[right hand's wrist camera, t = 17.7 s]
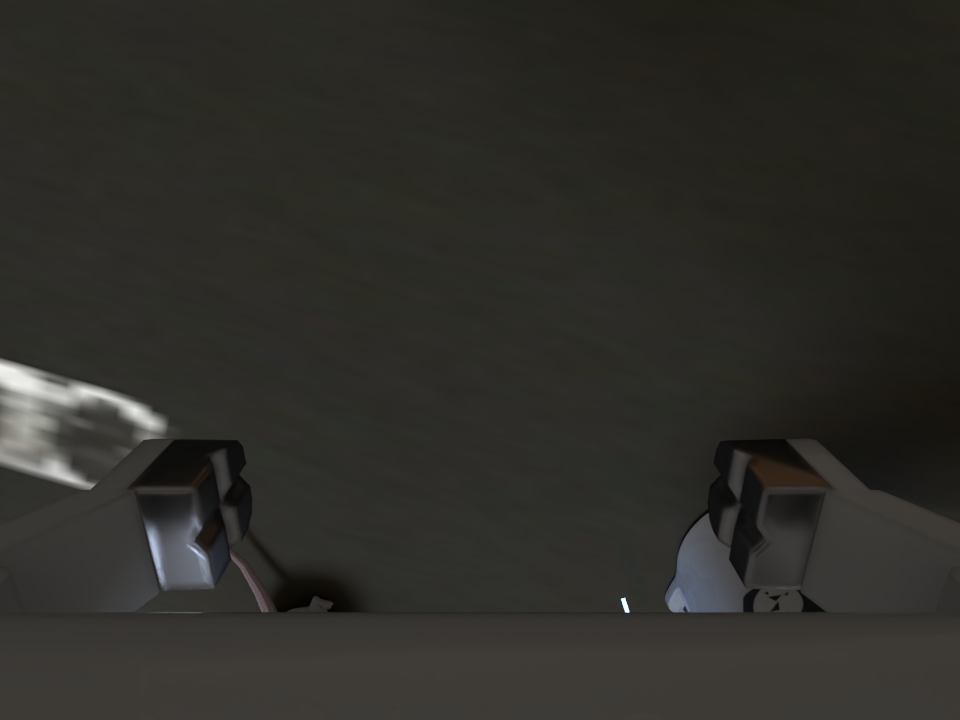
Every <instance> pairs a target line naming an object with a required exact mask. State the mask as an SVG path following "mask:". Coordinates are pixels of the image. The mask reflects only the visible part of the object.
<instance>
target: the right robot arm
mask: <svg viewBox="0 0 960 720" xmlns="http://www.w3.org/2000/svg"><path fill="white" fill-rule="evenodd" d="M245 465H246V460H245V455H244V450H243V446H242V445H241V444H240V443H239V442H238V440H198V439H179V440H178V439H149V440H143V441H142V442H141V443H140V444H139V445H138V446H137V447H136V448H135V449H134V450H133V451H132V452H130V453H129V454H128V455H127V456H126V457H125V458H124V459H123V460H122V461H121V462H120V463H119V464H118V465H117V466H115V467H114V468H113V469H112V470H111V471H110V472H109V473H108V474H107V475H106V476H105V477H104V478H103V479H101V480H100V481H99V482H98V483H97V484H96V485H95V486H94V487H93V488H92V489H91V490H80V491H77V492H75V493H72V494H70V495H67V496H65V497H62V498H60V499H58V500H55V501H53V502H50V503H48V504H45V505H43V506H40V507H38V508H36V509H33V510H31V511H28V512H26V513H23V514H21V515H18V516H16V517H14V518H11V519H9V520H6V521H4V522H1V523H0V720H960V523H958V522H956V521H954V520H951V519H949V518H946V517H944V516H941V515H939V514H937V513H934V512H932V511H929V510H927V509H924V508H922V507H919V506H917V505H915V504H912V503H910V502H907V501H905V500H902V499H900V498H898V497H895V496H893V495H890V494H888V493H885V492H883V491H881V490H869V489H868V488H867V487H866V486H865V485H864V484H863V483H862V482H861V481H860V480H859V479H858V478H856V477H855V476H854V475H853V474H852V473H851V472H850V471H849V470H848V469H847V468H846V467H845V466H844V465H843V464H841V463H840V462H839V461H838V460H837V459H836V458H835V457H834V456H833V455H832V454H831V453H830V452H829V451H828V450H826V449H825V448H824V447H823V446H822V445H821V444H820V443H819V442H818V441H816V440H813V439H810V438H807V439H768V440H727V441H721V442H720V443H719V445H718V447H717V450H716V454H715V459H714V465H715V466H716V468H717V469H718V471H719V472H720V474H721V475H720V476H719V477H718V478H717V479H716V480H715V481H714V482H713V483H712V484H711V485H710V489H709V497H708V512H709V513H707V514H706V515H705V516H703V517H702V518H701V519H700V520H699V521H698V522H697V523H696V524H695V525H694V526H693V527H692V528H691V529H690V531H689V532H688V533H687V535H686V537H685V538H684V540H683V542H682V544H681V547H680V550H679V553H678V558H677V569H676V575H675V578H674V580H673V581H672V583H671V585H670V586H669V588H668V590H667V592H666V595H665V601H666V603H667V605H668V607H669V609H670V610H671V611H672V612H629V610H628V607H627V604H626V600H625V598H623V599H622V602H623V606H624V609H625V612H134V611H136V610H137V609H138V608H140V607H141V606H142V605H144V604H145V603H146V602H148V601H149V600H150V599H152V598H153V597H154V596H156V595H157V594H158V593H159V590H177V589H213V588H215V586H216V585H217V583H218V581H219V580H220V578H221V576H222V574H223V573H224V571H225V569H226V567H227V566H228V564H229V562H230V561H231V555H230V550H229V548H231V547H233V546H234V545H236V544H237V543H239V542H241V541H242V539H243V537H244V536H245V534H246V532H247V530H248V527H249V523H250V518H251V514H252V496H251V489H250V485H249V484H248V483H247V482H246V481H245V480H244V479H243V478H242V477H241V476H240V475H239V474H240V472H241V471H242V469H243V468H244V466H245ZM685 606H686V607H685Z"/></svg>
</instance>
